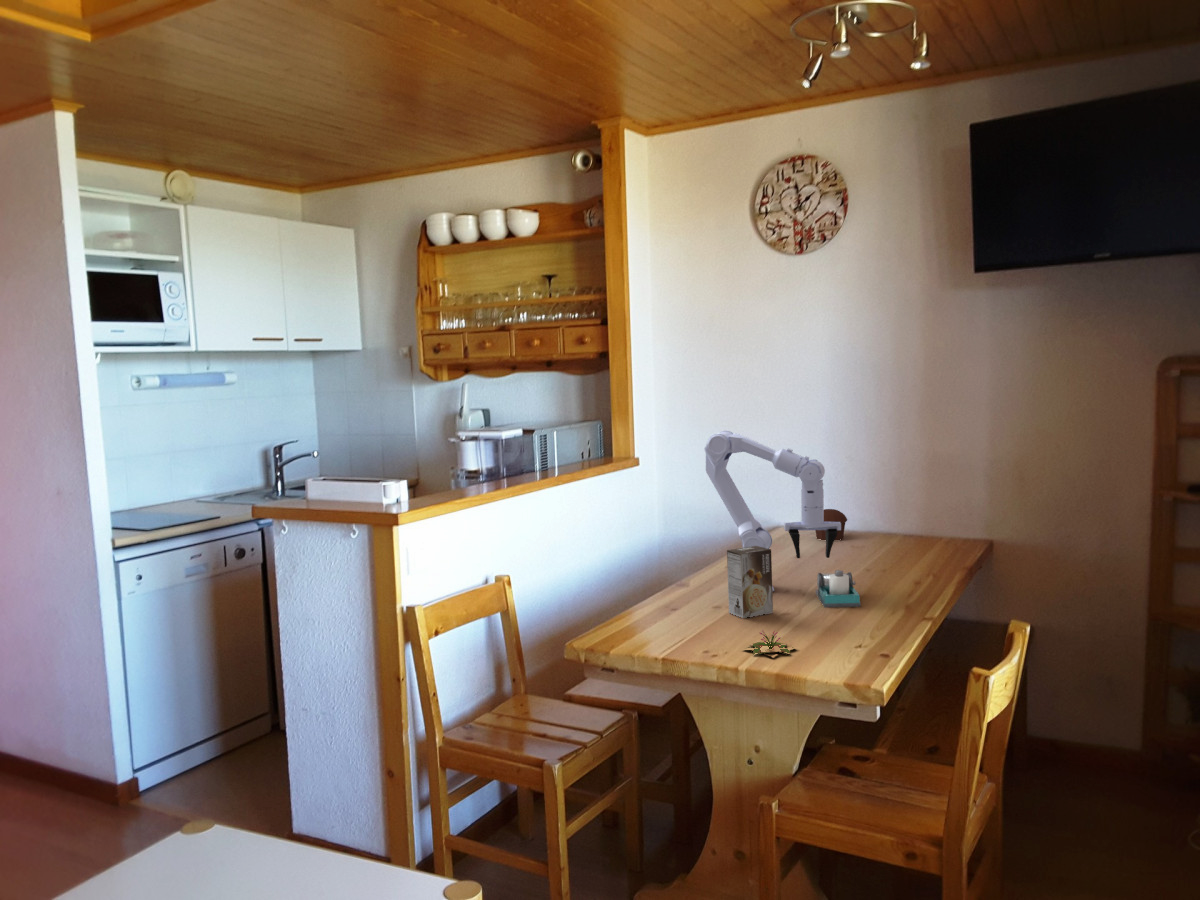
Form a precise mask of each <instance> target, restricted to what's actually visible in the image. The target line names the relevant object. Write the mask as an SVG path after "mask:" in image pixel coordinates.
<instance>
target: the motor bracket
mask: <svg viewBox="0 0 1200 900" xmlns="http://www.w3.org/2000/svg"><path fill="white" fill-rule="evenodd" d="M831 574H835V572H834V573H833V572H832V573H831V572H830V573H822V572H818V573H817V582H816V583H817V584H816V585H817V589H815V595H816V597H817V596H818V597H817V599H818V600H819V601H821V602H820V603H821V605H822V604H823V605H822V607H823V606H824V607H823V608H861V607H862V604H861V600H860V598H861V597H860V594H859V592H858V591H857V590H856V589H855V587H854V586H855V585H856V580H853V575H852V572H850V571H849V572H843V574H847V575H849V594H835V595H830V588H829V575H831Z"/></svg>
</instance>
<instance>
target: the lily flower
mask: <svg viewBox="0 0 1200 900" xmlns="http://www.w3.org/2000/svg"><path fill="white" fill-rule="evenodd" d="M778 633H779V632H775V631H773V633H772V634H770V632H769V633H768V634H769V635H771V636H767V634H766V633H765V632H764V630H761V632H759V634H760V635H762V638H761V639H760V640H761V641H763V642H761V641H759V642H755V643H752V644H753V645H752V647H756V648H758V649H754V650H753V652H752V655H754V654H755V653H759V654H758V655H761V654H763V653H767V654H769V651H766V652H761V650H760V648H761V647H762V646H768V647H769V646H770V647H769V649H772V648H773V647H774V646H778V647H779V648H783V647H787V645H788V644H787V643H785V644H786V645H781V644H784V643H781V642H778V641H779V640H781V637H778V636H777V634H778ZM777 637H778V638H777ZM776 638H777V639H776ZM775 639H776V640H775ZM766 641H768V642H769V643H768V642H766ZM764 642H766V643H767V644H765V643H764ZM770 643H771V644H770ZM779 645H781V646H779ZM760 646H761V647H760ZM771 646H772V647H771ZM750 647H751V646H748V647H747V648H750ZM791 647H792V646H791ZM792 648H794V647H792ZM769 649H768V650H769ZM772 650H773V649H772ZM780 650H781V652H780V653H782V652H787V653H790V654H791V655H792V653H791V651H789V650H788V649H780ZM760 652H761V653H760ZM782 654H785V653H782ZM785 655H786V654H785Z"/></svg>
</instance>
